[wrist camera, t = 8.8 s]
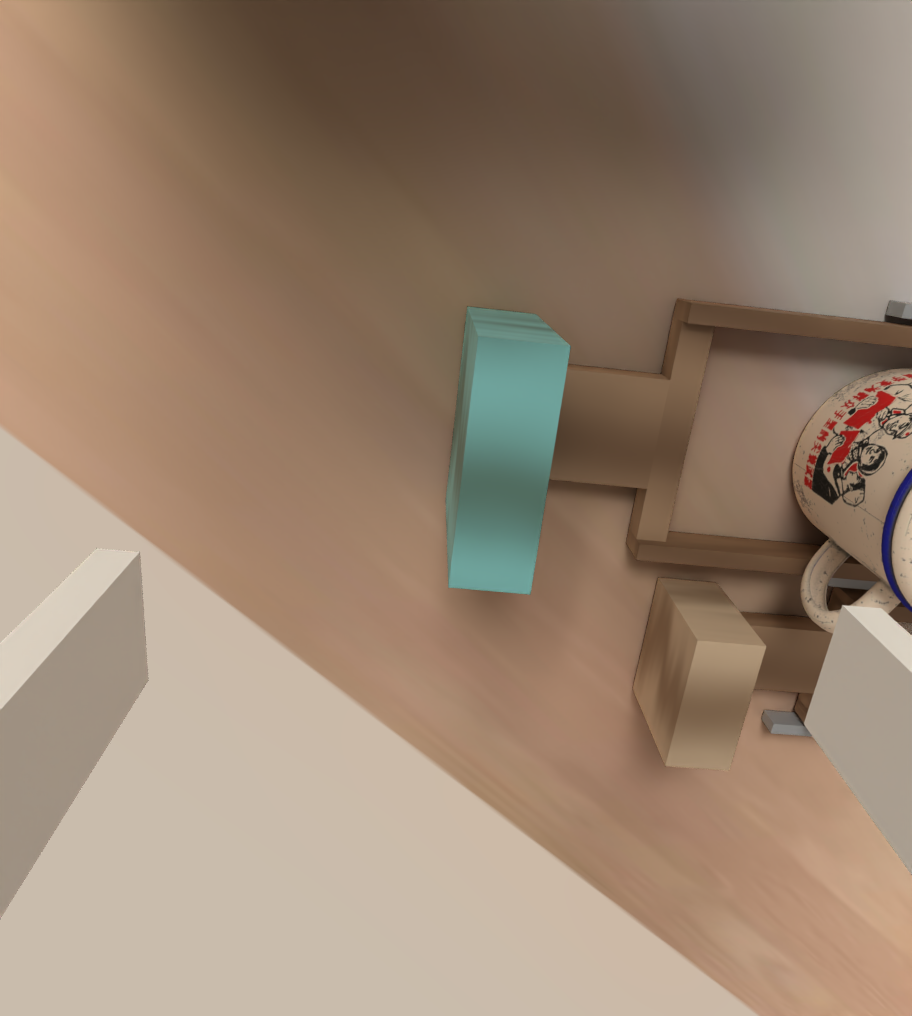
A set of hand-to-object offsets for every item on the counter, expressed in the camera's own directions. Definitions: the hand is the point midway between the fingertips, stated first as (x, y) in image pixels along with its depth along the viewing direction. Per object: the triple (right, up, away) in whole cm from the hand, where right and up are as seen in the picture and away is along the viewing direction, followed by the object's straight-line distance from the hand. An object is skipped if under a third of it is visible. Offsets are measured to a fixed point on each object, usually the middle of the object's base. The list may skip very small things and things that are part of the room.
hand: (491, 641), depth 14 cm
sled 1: (+12, +6, +20) cm, 25 cm away
